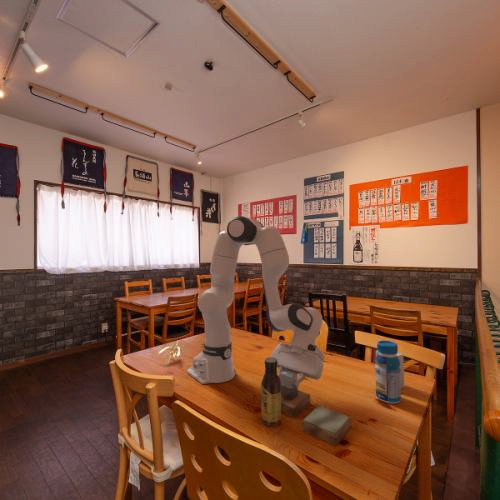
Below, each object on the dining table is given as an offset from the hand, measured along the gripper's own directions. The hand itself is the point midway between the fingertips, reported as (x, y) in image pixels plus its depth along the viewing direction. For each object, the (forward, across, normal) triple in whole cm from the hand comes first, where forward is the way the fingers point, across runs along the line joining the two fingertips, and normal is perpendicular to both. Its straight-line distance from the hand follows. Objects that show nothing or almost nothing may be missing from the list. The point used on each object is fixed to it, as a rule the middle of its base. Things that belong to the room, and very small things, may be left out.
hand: (287, 383), depth 97 cm
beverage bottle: (-13, +26, +24) cm, 38 cm away
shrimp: (+7, -66, +4) cm, 67 cm away
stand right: (+8, +16, +3) cm, 18 cm away
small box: (-21, +24, +32) cm, 45 cm away
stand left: (+5, 0, +6) cm, 8 cm away
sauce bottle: (+14, +1, -2) cm, 14 cm away
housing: (+3, 0, +4) cm, 5 cm away
